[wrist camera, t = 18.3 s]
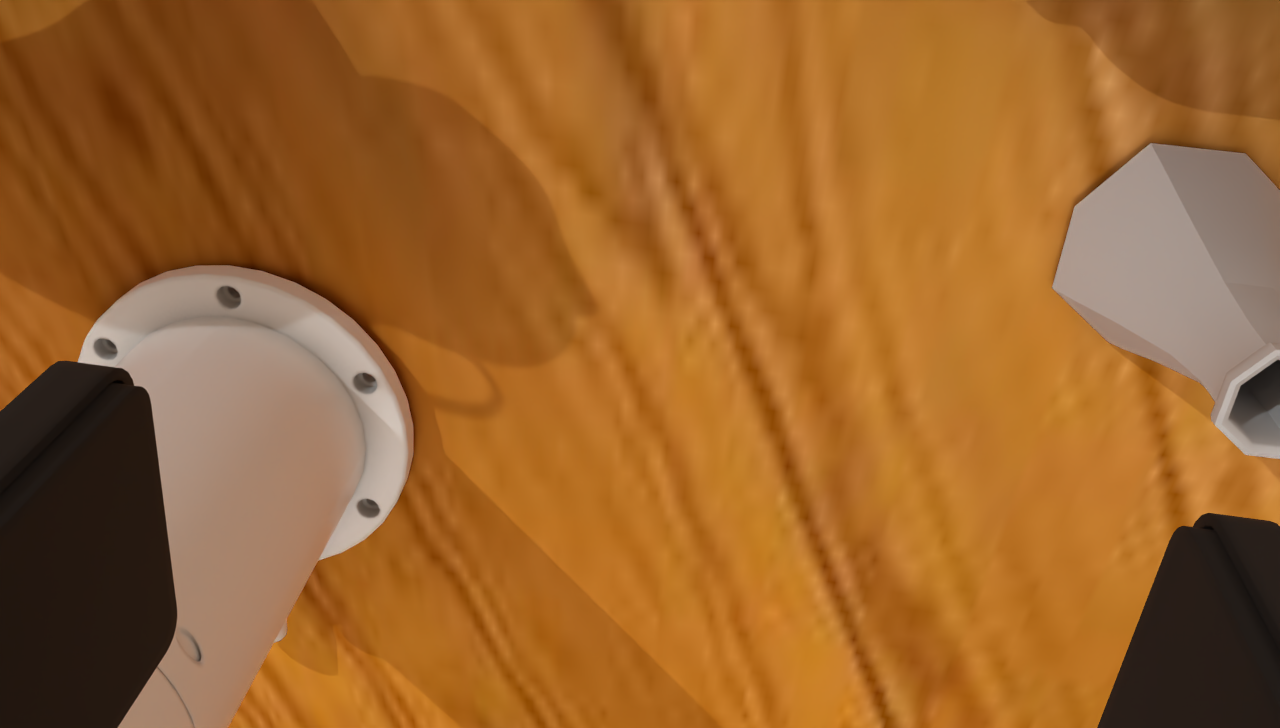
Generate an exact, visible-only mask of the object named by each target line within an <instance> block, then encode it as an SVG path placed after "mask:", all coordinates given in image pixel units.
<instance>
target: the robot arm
mask: <svg viewBox="0 0 1280 728" xmlns="http://www.w3.org/2000/svg"><path fill="white" fill-rule="evenodd" d="M369 374H370V375H369ZM371 375H372V376H371ZM413 454H414V430H413V422H412V418H411V413H410V409H409V404H408V399H407V397H406V395H405V392H404V390H403V388H402V386H401V383H400V381H399V379H398V376H397V374H396V372H395V370H394V369H393V367H392V366H391V364H390V363H389V361H388V360H387V358H386V357H385V355H384V354H383V352H382V351H381V349H380V348H379V346H378V345H377V344H376V343H375V342H374V341H373V339H372V338H371V337H370V336H369V335H368V334H367V333H366V332H365V331H364V330H363V329H362V328H361V327H360V326H359V325H358V324H357V323H356V322H355V321H354V320H353V319H352V318H351V317H349V316H348V315H347V314H345V313H344V312H343V311H341V310H340V309H339V308H337V307H336V306H335V305H334V304H332V303H331V302H330V301H328V300H327V299H325V298H323V297H322V296H320V295H318V294H316V293H314V292H312V291H310V290H309V289H307V288H305V287H303V286H301V285H299V284H297V283H296V282H293V281H290V280H287V279H284V278H281V277H278V276H275V275H273V274H270V273H267V272H264V271H260V270H254V269H248V268H242V267H236V266H231V265H196V266H191V267H186V268H181V269H176V270H171V271H166V272H164V273H162V274H159V275H157V276H155V277H153V278H150V279H148V280H146V281H143V282H141V283H139V284H138V285H136V286H135V287H134V288H132V289H131V290H130V291H128V292H127V293H126V294H124V295H123V296H122V297H121V298H119V299H118V300H117V301H116V302H115V303H114V304H113V305H112V306H111V307H110V308H109V309H108V310H107V311H106V312H105V313H104V314H103V315H102V316H101V317H100V318H99V319H98V320H97V321H96V323H95V324H94V326H93V327H92V329H91V330H90V332H89V333H88V335H87V337H86V339H85V341H84V343H83V347H82V350H81V353H80V356H79V360H78V362H71V361H58V362H56V363H55V364H53V365H52V366H50V367H49V368H48V369H47V370H46V371H45V372H44V373H42V374H41V375H40V376H39V377H38V378H37V379H36V380H35V381H34V382H32V383H31V384H30V385H29V386H28V387H27V388H26V389H25V390H24V391H22V392H21V393H20V394H19V395H18V396H17V397H16V398H15V399H14V400H13V401H11V402H10V403H9V404H8V405H7V406H6V407H5V408H4V409H3V410H1V411H0V728H228V726H229V725H230V723H231V721H232V719H233V717H234V715H235V713H236V712H237V710H238V708H239V706H240V704H241V702H242V701H243V699H244V697H245V695H246V693H247V691H248V689H249V688H250V686H251V684H252V682H253V680H254V678H255V676H256V675H257V673H258V671H259V669H260V667H261V665H262V664H263V662H264V660H265V658H266V656H267V654H268V652H269V651H270V649H271V647H272V645H273V643H275V642H277V641H280V640H282V639H283V638H284V637H285V635H286V634H287V617H288V615H289V614H290V612H291V610H292V608H293V606H294V604H295V602H296V601H297V599H298V597H299V595H300V593H301V591H302V590H303V588H304V586H305V584H306V582H307V580H308V578H309V577H310V575H311V573H312V571H313V569H314V567H315V565H316V564H317V562H318V561H319V560H322V559H325V558H328V557H331V556H334V555H337V554H340V553H343V552H344V551H346V550H348V549H349V548H351V547H353V546H355V545H356V544H358V543H360V542H362V541H363V540H365V539H366V538H367V537H368V536H369V535H370V534H371V533H373V532H374V531H375V530H376V529H377V528H378V527H379V526H380V525H381V524H382V523H383V522H384V521H385V519H386V518H387V516H388V515H389V513H390V512H391V510H392V509H393V507H394V506H395V504H396V503H397V501H398V499H399V497H400V494H401V492H402V490H403V488H404V486H405V483H406V481H407V479H408V475H409V471H410V467H411V462H412V458H413ZM1098 728H1280V527H1279V525H1278V524H1277V523H1274V522H1271V521H1265V520H1258V519H1250V518H1243V517H1235V516H1228V515H1220V514H1213V513H1207V514H1204V515H1202V516H1201V517H1200V518H1199V519H1198V520H1197V521H1196V522H1195V524H1194V526H1193V527H1187V526H1182V527H1179V528H1178V529H1177V530H1176V531H1175V532H1174V533H1173V535H1172V537H1171V539H1170V541H1169V544H1168V547H1167V549H1166V552H1165V554H1164V557H1163V559H1162V562H1161V565H1160V567H1159V570H1158V572H1157V575H1156V578H1155V580H1154V583H1153V585H1152V588H1151V590H1150V593H1149V596H1148V598H1147V601H1146V603H1145V606H1144V609H1143V611H1142V614H1141V616H1140V619H1139V622H1138V624H1137V627H1136V629H1135V632H1134V634H1133V637H1132V640H1131V642H1130V645H1129V647H1128V650H1127V653H1126V655H1125V658H1124V660H1123V663H1122V665H1121V668H1120V671H1119V673H1118V676H1117V678H1116V681H1115V684H1114V686H1113V689H1112V691H1111V694H1110V697H1109V699H1108V702H1107V704H1106V707H1105V709H1104V712H1103V715H1102V717H1101V720H1100V722H1099V725H1098Z"/></svg>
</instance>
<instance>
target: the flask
mask: <svg viewBox="0 0 1280 728" xmlns="http://www.w3.org/2000/svg"><path fill="white" fill-rule="evenodd" d="M1052 288H1053V289H1054V290H1055V291H1056V292H1057V293H1058V294H1059V295H1060V296H1061V297H1062V298H1063V299H1064V300H1065V301H1066V302H1067V303H1068V304H1069V305H1070V306H1071V307H1072V308H1073V309H1074V310H1075V311H1076V312H1077V313H1078V314H1080V315H1081V316H1082V317H1083V318H1084V319H1085V320H1086V321H1087V322H1088V323H1089V324H1090V325H1091V326H1092V327H1093V328H1094V329H1095V330H1096V331H1097V332H1098V333H1099V334H1100V335H1101V336H1102V337H1103V338H1104V339H1105V340H1106V341H1107V342H1109V343H1111V344H1113V345H1115V346H1117V347H1119V348H1122V349H1124V350H1127V351H1129V352H1132V353H1135V354H1137V355H1140V356H1142V357H1145V358H1147V359H1150V360H1153V361H1155V362H1157V363H1159V364H1162V365H1164V366H1166V367H1168V368H1170V369H1172V370H1174V371H1176V372H1178V373H1180V374H1183V375H1185V376H1187V377H1189V378H1191V379H1193V380H1195V381H1197V382H1199V383H1200V384H1201V385H1202V386H1204V387H1205V388H1206V389H1207V391H1208V392H1209V394H1210V395H1211V397H1212V398H1213V400H1214V401H1215V405H1214V407H1213V410H1212V413H1211V421H1212V422H1213V423H1214V425H1215V426H1216V427H1217V428H1218V429H1220V430H1221V431H1222V432H1223V433H1224V434H1225V435H1226V436H1227V437H1228V438H1229V439H1230V440H1231V441H1232V442H1233V443H1234V444H1235V445H1236V446H1237V447H1238V448H1239V449H1240V450H1241V451H1242V452H1243V453H1244V454H1245V455H1251V456H1260V457H1268V458H1276V459H1280V190H1279V189H1278V188H1277V187H1276V186H1275V185H1274V183H1273V182H1272V181H1271V180H1270V179H1269V178H1268V177H1267V176H1266V175H1265V174H1264V173H1263V172H1262V171H1261V170H1260V168H1259V167H1258V166H1257V165H1256V164H1255V163H1254V162H1253V161H1252V160H1251V159H1250V158H1249V157H1248V156H1247V154H1246V153H1237V152H1228V151H1219V150H1209V149H1200V148H1191V147H1182V146H1173V145H1164V144H1155V143H1150V144H1149V145H1148V146H1146V147H1145V148H1144V149H1143V150H1142V151H1140V152H1139V153H1138V154H1137V155H1136V156H1134V157H1133V158H1132V159H1131V160H1130V161H1128V162H1127V163H1126V164H1125V165H1124V166H1122V167H1121V168H1120V169H1119V170H1118V171H1116V172H1115V173H1114V174H1113V175H1112V176H1110V177H1109V178H1108V179H1107V180H1106V181H1105V182H1103V183H1102V184H1101V185H1100V186H1099V187H1097V188H1096V189H1095V190H1094V191H1093V192H1091V193H1090V194H1089V195H1088V196H1087V197H1085V198H1084V199H1083V200H1082V201H1081V202H1079V203H1078V204H1077V205H1076V206H1075V207H1074V211H1073V214H1072V218H1071V221H1070V225H1069V229H1068V232H1067V236H1066V239H1065V243H1064V247H1063V250H1062V254H1061V257H1060V261H1059V265H1058V268H1057V272H1056V276H1055V279H1054V283H1053V286H1052Z"/></svg>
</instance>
